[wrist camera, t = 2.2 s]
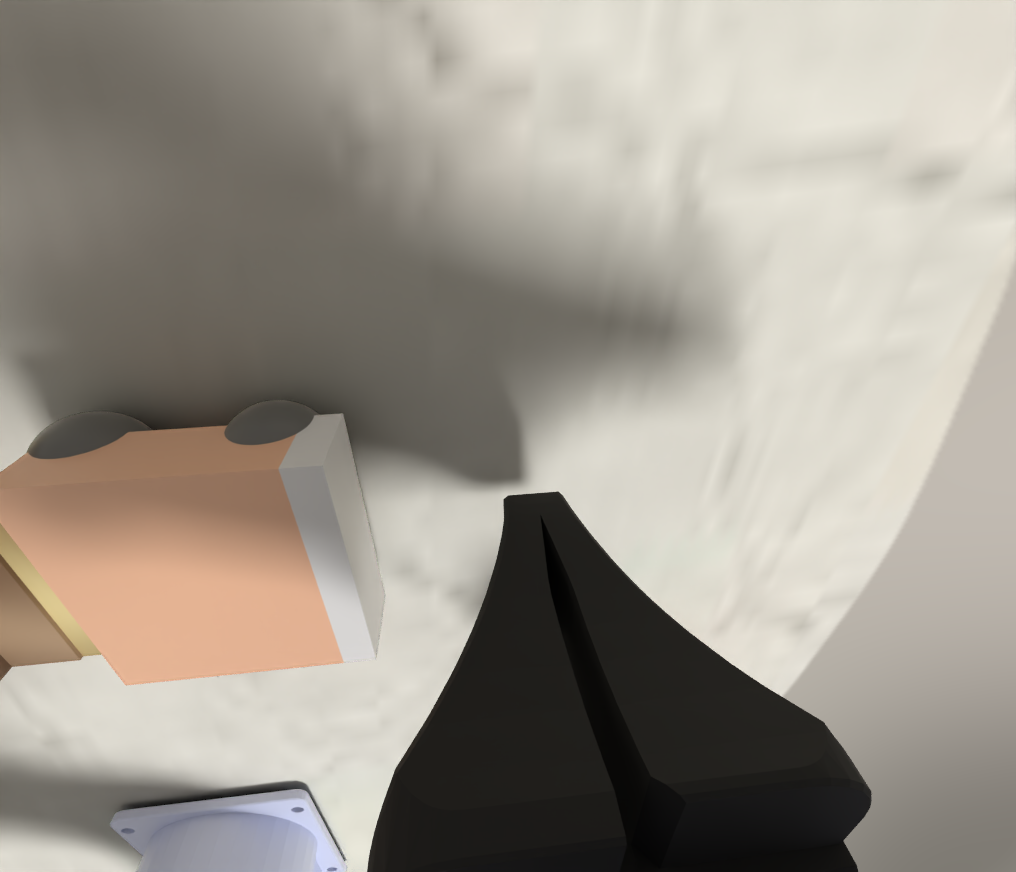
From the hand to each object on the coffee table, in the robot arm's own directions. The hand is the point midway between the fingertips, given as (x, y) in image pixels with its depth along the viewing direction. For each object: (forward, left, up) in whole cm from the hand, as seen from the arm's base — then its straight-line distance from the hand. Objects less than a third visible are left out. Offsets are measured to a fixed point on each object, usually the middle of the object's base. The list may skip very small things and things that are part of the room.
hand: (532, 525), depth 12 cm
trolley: (0, +8, -2) cm, 8 cm away
